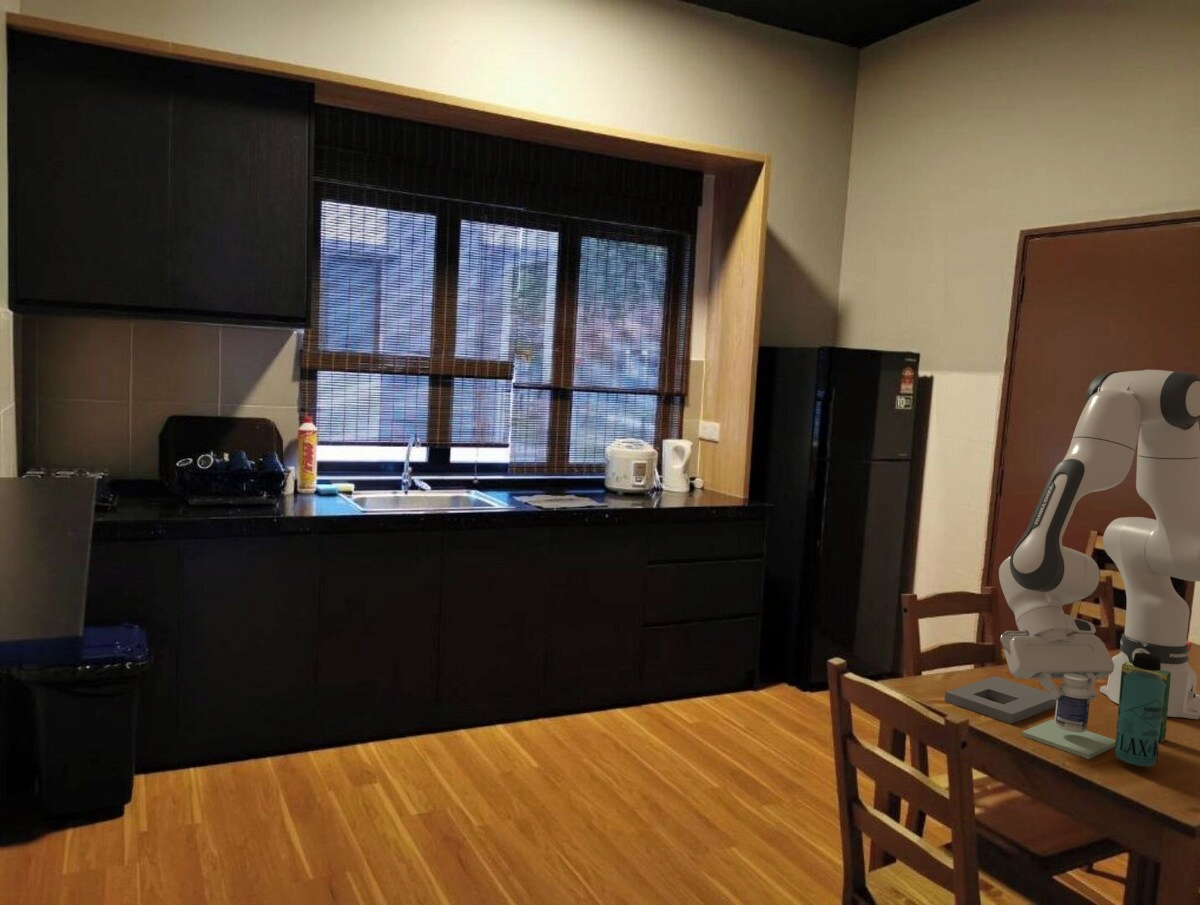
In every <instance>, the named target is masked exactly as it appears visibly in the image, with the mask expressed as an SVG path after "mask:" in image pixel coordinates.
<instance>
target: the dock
mask: <svg viewBox="0 0 1200 905" xmlns="http://www.w3.org/2000/svg"><path fill="white" fill-rule="evenodd" d="M944 693H945V696H944V702H945V703H948V704H951V705H954V706H958V707H960V708H963V709H966V710H969V711H971V712H975V713H977V712H978V713H977V714H980V713H981V714H980V715H983V714H984V716H986V715H987V717H989V716H990V717H989V718H992V719H994V718H995V720H997V719H998V721H1000V720H1001V721H1000V722H1003V721H1004V722H1003V723H1006V722H1007V724H1009V723H1010V724H1009V725H1013V724H1016V723H1018V722H1020V720H1021V721H1023V720H1026V719H1028V717H1029V718H1032V717H1033V715H1034V716H1036V715H1039V714H1041V713H1043V711H1044V712H1046V711H1049V710H1051V709H1054V708H1056V701H1057V700H1053V699H1052V697H1051V694H1050V692H1049V691H1047V690H1046V691H1045V690H1042V689H1039V688H1036V687H1032V686H1030V685H1026V684H1023V683H1020V682H1019V683H1018V682H1016V681H1013V680H1010V679H1007V678H1002V677H1000V676H997V675H994V676H991V677H987V678H984V679H982V680H978V681H975V682H973V683H972V682H971V683H969V684H966V685H962V686H959V687H956V688H952V689H950V690H947V691H945V692H944ZM1048 709H1049V710H1048ZM1045 710H1046V711H1045ZM1038 713H1039V714H1038ZM1017 721H1018V722H1017ZM1015 722H1016V723H1015ZM1012 723H1013V724H1012Z"/></svg>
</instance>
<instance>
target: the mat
mask: <svg viewBox="0 0 1200 905" xmlns="http://www.w3.org/2000/svg"><path fill="white" fill-rule="evenodd" d="M1054 721H1055V719H1049V720H1047V721H1045V722H1042V723H1039V724H1038V725H1037V724H1036V725H1035V726H1032V727H1030V728H1028V729H1025V730H1023V731H1022V730H1021V737H1024V738H1027V739H1029V738H1030V740H1032V739H1033V741H1035V740H1036V742H1038V743H1041V744H1043V745H1046V744H1047V746H1049V745H1050V746H1049V747H1052V746H1053V748H1055V749H1057V750H1058V749H1059V750H1060V751H1064V752H1066V751H1067V752H1066V753H1070V754H1073V755H1075V756H1078V757H1080V756H1081V758H1083V757H1084V759H1086V760H1090V759H1093V758H1094V757H1096V756H1099V755H1101V754H1102V753H1104V752H1107V751H1109V750H1110V749H1112V748H1116V746H1115V744H1116V741H1115V740H1116V739H1113V738H1111V737H1107V736H1105V735H1101V734H1099V733H1095V732H1092V731H1090V730H1086V731H1085V732H1071V731H1067V730H1063V729H1061V728H1059V727H1057V726H1056V725H1055V723H1054Z"/></svg>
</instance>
